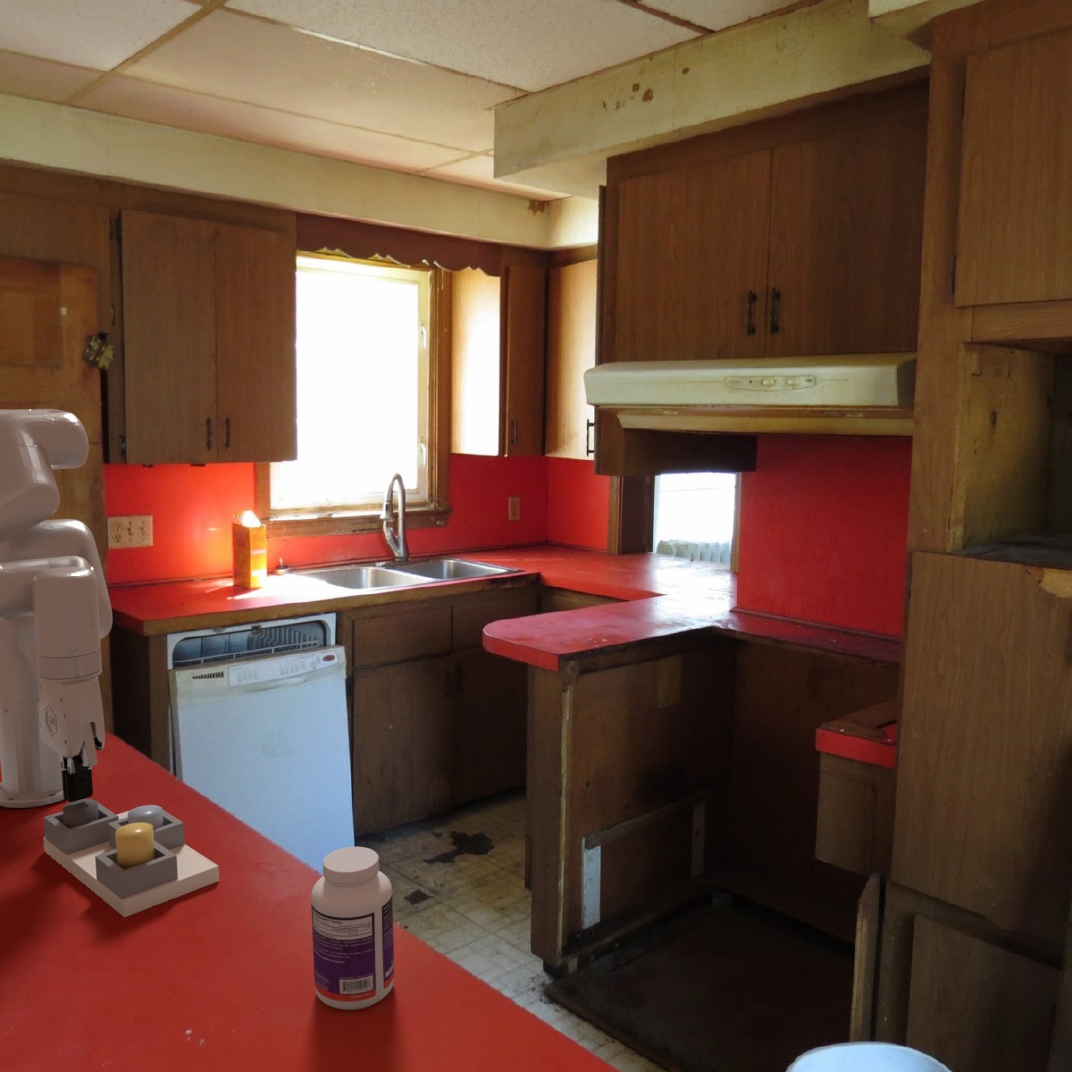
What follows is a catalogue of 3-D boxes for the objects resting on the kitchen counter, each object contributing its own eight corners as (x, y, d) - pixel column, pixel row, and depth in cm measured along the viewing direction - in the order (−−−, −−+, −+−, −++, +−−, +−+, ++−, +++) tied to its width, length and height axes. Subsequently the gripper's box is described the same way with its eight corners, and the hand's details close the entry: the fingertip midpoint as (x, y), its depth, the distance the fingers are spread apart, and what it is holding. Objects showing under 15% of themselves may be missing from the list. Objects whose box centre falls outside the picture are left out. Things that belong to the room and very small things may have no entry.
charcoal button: (59, 834, 132) (57, 805, 132) (91, 824, 135) (89, 796, 135) (72, 844, 130) (70, 815, 129) (105, 834, 133) (103, 805, 132)
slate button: (123, 841, 130) (121, 811, 130) (154, 830, 133) (153, 802, 133) (138, 851, 128) (136, 821, 127) (169, 840, 131) (168, 811, 130)
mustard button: (111, 861, 121) (109, 830, 121) (145, 849, 124) (143, 819, 124) (126, 873, 118) (124, 841, 118) (161, 861, 121) (159, 829, 121)
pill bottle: (359, 959, 108) (355, 833, 106) (411, 987, 103) (408, 855, 101) (298, 994, 102) (292, 861, 100) (350, 1026, 97) (345, 886, 95)
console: (44, 851, 133) (41, 815, 132) (132, 823, 142) (130, 789, 141) (124, 917, 117) (121, 877, 116) (219, 880, 125) (217, 843, 124)
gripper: (17, 657, 132) (27, 788, 135) (63, 683, 121) (72, 825, 125) (75, 646, 137) (83, 773, 140) (124, 670, 127) (131, 807, 130)
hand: (78, 797), depth 132 cm, fingers closed
